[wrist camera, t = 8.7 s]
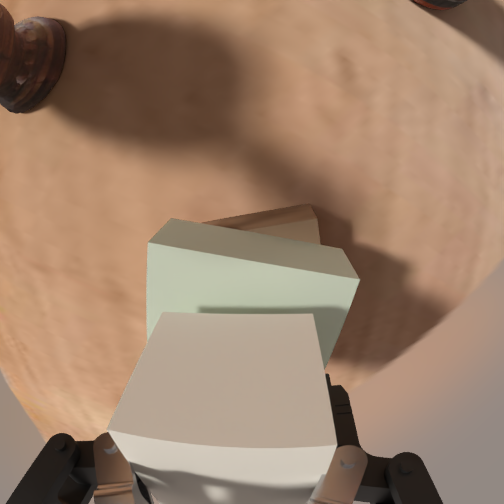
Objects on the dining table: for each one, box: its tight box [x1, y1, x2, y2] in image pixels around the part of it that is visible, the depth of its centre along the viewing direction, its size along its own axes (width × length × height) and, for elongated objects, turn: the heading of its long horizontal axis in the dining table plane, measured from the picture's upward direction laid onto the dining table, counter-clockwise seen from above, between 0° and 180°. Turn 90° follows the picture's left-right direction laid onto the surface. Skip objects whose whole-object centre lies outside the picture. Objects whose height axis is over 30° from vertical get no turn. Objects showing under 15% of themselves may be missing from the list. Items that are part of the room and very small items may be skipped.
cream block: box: [107, 312, 337, 504], centre depth 10 cm, size 6×6×6 cm
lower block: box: [202, 204, 321, 245], centre depth 19 cm, size 9×9×4 cm
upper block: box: [147, 218, 360, 370], centre depth 16 cm, size 9×9×4 cm
